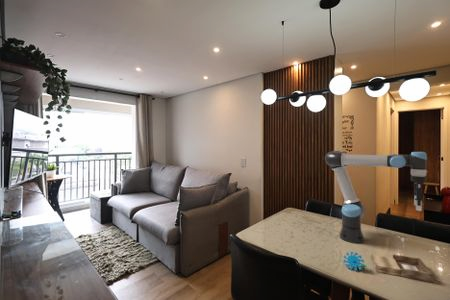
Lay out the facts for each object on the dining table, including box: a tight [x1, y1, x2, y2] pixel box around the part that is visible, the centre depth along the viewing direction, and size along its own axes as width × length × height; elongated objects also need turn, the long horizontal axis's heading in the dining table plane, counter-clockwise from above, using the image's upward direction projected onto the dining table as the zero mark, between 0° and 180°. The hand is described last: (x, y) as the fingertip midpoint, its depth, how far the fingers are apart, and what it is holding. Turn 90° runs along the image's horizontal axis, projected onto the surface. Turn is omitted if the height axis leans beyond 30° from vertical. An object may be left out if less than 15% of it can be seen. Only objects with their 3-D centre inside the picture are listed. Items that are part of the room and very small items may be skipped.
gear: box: [343, 251, 367, 272], centre depth 118 cm, size 11×6×10 cm
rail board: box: [369, 253, 434, 283], centre depth 116 cm, size 23×16×4 cm
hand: (417, 207), depth 139 cm, fingers open, 13 cm apart
